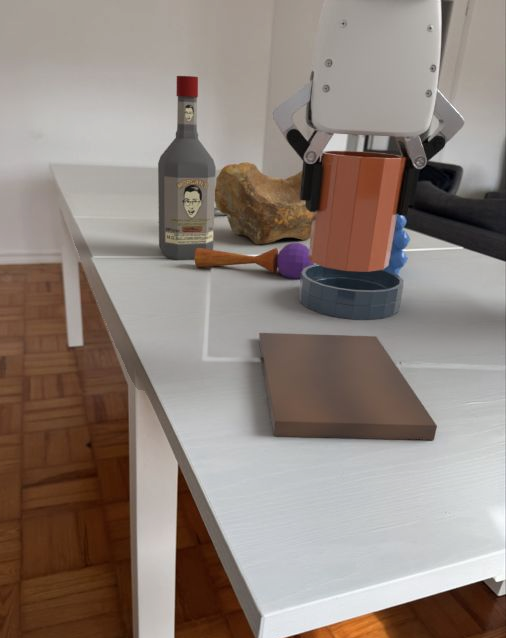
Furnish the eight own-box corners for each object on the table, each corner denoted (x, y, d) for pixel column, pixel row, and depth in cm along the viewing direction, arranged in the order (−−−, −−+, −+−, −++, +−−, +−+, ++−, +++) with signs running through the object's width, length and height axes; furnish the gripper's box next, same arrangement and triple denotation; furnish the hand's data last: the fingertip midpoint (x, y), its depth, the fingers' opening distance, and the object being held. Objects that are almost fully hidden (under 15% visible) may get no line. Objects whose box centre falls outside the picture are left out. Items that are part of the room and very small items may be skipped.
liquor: (157, 248, 106) (155, 75, 94) (202, 247, 109) (206, 78, 97) (167, 261, 98) (166, 73, 86) (215, 258, 101) (221, 77, 89)
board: (374, 347, 66) (376, 336, 65) (434, 440, 48) (437, 425, 47) (258, 344, 65) (259, 332, 65) (273, 436, 47) (274, 421, 47)
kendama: (204, 239, 97) (317, 243, 91) (203, 273, 98) (315, 279, 92) (191, 240, 91) (311, 243, 86) (191, 276, 93) (309, 282, 87)
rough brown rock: (217, 251, 109) (223, 174, 102) (210, 227, 124) (215, 158, 117) (330, 256, 113) (343, 181, 106) (310, 232, 127) (320, 165, 120)
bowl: (382, 292, 86) (387, 264, 84) (411, 325, 73) (417, 293, 72) (293, 289, 86) (295, 261, 84) (306, 322, 73) (309, 289, 71)
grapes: (347, 266, 100) (355, 198, 95) (381, 265, 101) (392, 199, 96) (374, 285, 90) (385, 210, 85) (412, 284, 91) (425, 211, 86)
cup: (375, 253, 55) (391, 152, 51) (397, 273, 48) (416, 159, 44) (304, 250, 55) (314, 149, 51) (315, 270, 48) (328, 155, 44)
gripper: (475, -6, 46) (434, 208, 53) (270, -17, 46) (256, 200, 53) (520, -26, 39) (466, 223, 46) (278, -39, 39) (261, 214, 46)
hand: (354, 209), depth 50 cm, fingers closed on cup, 7 cm apart
